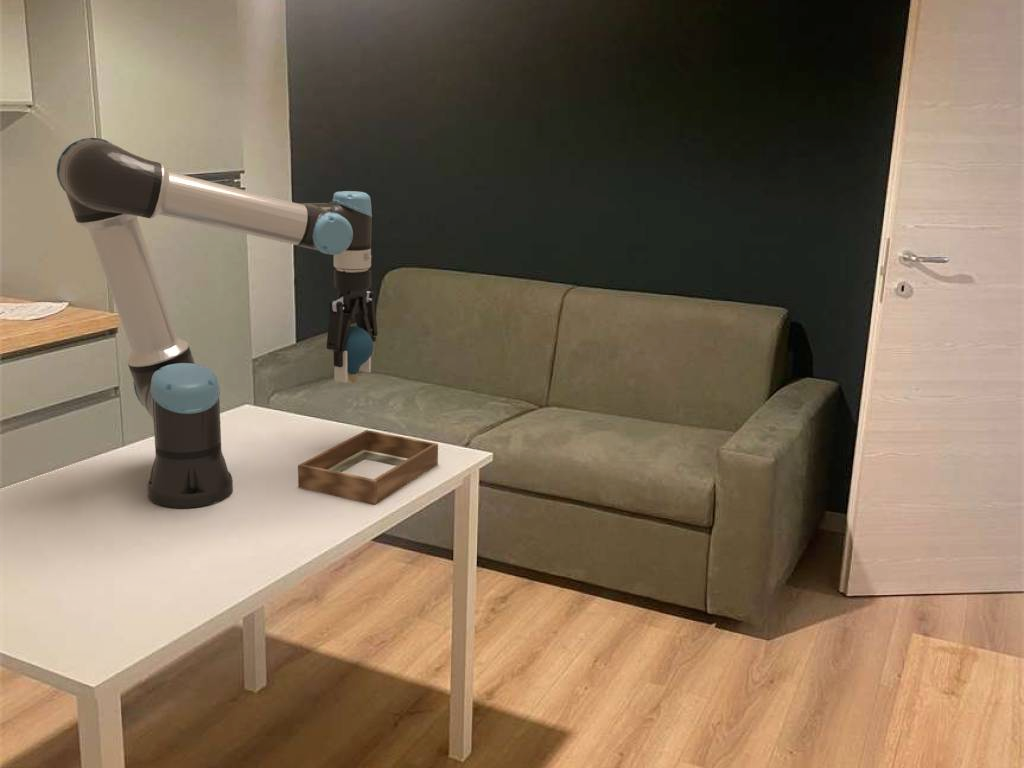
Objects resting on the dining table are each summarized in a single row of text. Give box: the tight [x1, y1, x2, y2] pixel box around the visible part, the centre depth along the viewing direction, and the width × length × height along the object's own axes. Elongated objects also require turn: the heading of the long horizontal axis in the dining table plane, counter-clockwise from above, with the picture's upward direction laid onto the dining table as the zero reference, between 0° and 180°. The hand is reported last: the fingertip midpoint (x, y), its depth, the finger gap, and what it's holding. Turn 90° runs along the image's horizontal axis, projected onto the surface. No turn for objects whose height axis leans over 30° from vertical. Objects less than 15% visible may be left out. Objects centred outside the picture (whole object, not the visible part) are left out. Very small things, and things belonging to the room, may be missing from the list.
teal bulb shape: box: [340, 325, 374, 383], centre depth 219 cm, size 8×8×12 cm
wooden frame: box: [297, 429, 439, 505], centre depth 207 cm, size 17×24×4 cm
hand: (352, 376), depth 220 cm, fingers closed on teal bulb shape, 8 cm apart
